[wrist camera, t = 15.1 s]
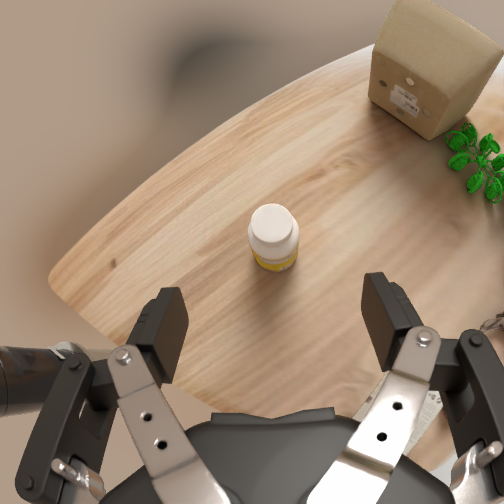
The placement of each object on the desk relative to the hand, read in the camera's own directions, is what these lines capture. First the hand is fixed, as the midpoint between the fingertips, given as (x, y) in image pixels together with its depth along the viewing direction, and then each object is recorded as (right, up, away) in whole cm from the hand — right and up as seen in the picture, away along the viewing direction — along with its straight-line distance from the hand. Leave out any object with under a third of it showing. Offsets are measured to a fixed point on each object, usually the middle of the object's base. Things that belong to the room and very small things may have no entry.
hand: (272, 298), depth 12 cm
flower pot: (+21, +24, +21) cm, 38 cm away
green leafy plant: (+37, +16, +24) cm, 47 cm away
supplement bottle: (+2, +2, +24) cm, 24 cm away
